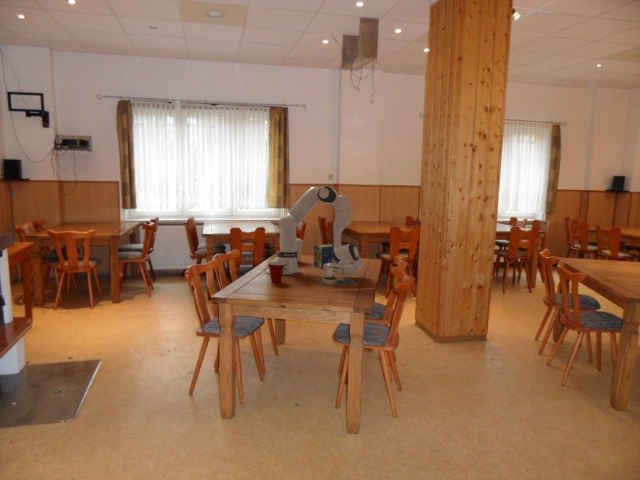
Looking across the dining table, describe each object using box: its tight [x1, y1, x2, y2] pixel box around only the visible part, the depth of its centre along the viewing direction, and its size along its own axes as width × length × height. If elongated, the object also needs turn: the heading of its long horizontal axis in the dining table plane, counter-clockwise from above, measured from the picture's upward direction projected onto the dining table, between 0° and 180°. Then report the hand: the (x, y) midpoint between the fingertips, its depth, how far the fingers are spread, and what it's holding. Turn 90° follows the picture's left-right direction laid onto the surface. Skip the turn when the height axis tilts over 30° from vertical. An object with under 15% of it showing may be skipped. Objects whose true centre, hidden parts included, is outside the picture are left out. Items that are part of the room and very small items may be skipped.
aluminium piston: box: [325, 263, 336, 280], centre depth 271 cm, size 5×5×12 cm
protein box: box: [313, 243, 338, 269], centre depth 328 cm, size 10×15×16 cm
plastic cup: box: [267, 261, 285, 284], centre depth 277 cm, size 11×11×12 cm
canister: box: [278, 237, 304, 263], centre depth 343 cm, size 18×18×21 cm
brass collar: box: [321, 276, 339, 286], centre depth 272 cm, size 10×10×3 cm
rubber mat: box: [315, 278, 359, 287], centre depth 276 cm, size 23×17×1 cm
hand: (330, 270), depth 271 cm, fingers open, 8 cm apart
